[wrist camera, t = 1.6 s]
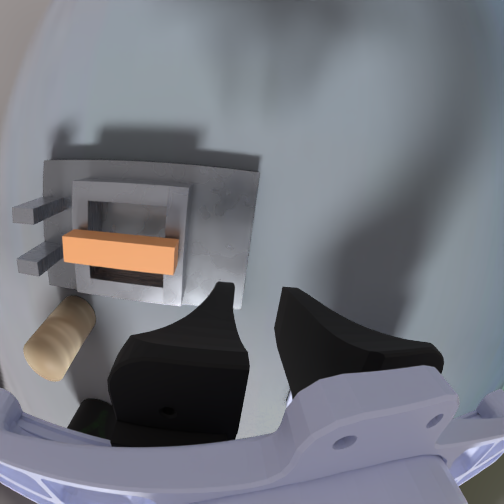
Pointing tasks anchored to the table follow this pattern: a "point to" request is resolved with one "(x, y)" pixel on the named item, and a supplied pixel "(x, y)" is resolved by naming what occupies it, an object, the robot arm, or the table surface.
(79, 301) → the peg
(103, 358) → the table surface
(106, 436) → the cup
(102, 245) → the pin
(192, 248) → the dock
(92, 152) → the table surface
